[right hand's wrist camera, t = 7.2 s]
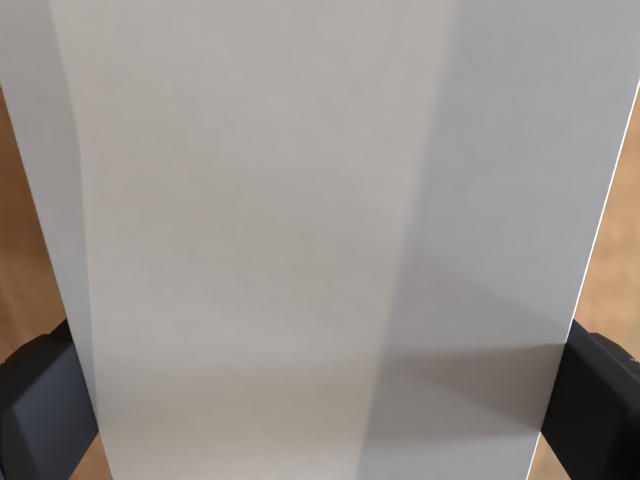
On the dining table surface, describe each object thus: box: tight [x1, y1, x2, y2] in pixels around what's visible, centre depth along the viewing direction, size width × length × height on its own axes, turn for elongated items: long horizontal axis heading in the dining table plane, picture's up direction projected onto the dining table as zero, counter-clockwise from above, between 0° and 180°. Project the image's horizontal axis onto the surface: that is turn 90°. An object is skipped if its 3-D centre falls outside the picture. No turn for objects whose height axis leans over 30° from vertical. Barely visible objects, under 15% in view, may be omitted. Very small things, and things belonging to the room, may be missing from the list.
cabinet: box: [0, 0, 640, 480], centre depth 11 cm, size 19×11×8 cm, turn 0°
